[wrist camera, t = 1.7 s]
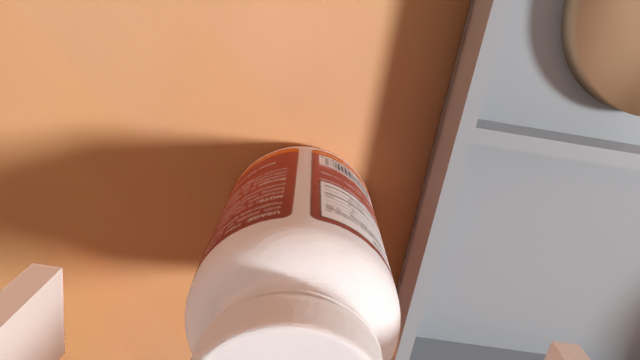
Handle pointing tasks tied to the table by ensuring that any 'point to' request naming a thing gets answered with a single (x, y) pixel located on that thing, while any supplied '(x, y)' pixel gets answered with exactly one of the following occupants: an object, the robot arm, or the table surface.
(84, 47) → the table surface
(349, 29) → the table surface
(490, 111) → the caddy
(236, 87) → the table surface
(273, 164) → the pill bottle
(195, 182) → the table surface
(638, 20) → the coaster
